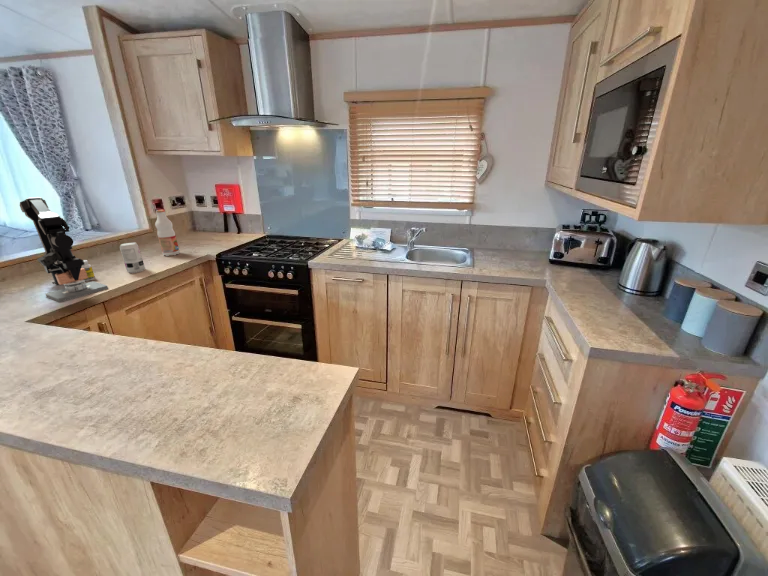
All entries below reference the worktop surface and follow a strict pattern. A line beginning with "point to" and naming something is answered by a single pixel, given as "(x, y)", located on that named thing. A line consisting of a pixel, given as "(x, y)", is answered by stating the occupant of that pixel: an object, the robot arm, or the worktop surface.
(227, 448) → the worktop surface
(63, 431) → the worktop surface
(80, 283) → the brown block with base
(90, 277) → the supplement bottle
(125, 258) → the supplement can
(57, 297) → the post plate
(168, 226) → the fruit juice
